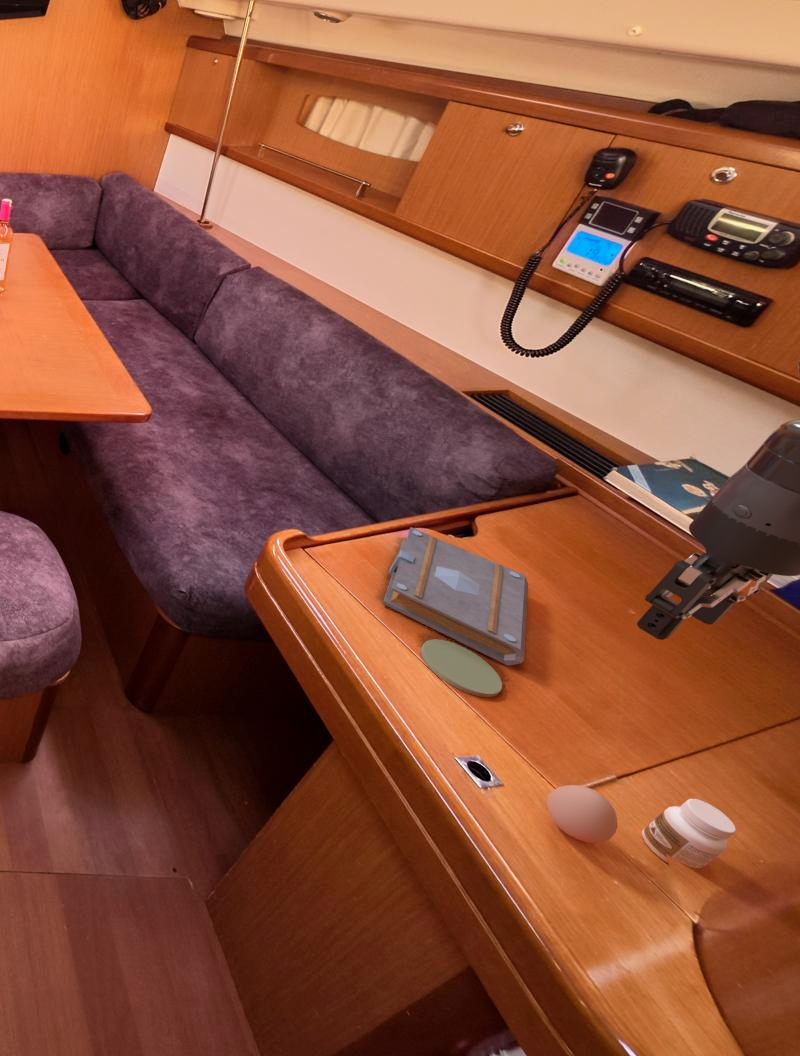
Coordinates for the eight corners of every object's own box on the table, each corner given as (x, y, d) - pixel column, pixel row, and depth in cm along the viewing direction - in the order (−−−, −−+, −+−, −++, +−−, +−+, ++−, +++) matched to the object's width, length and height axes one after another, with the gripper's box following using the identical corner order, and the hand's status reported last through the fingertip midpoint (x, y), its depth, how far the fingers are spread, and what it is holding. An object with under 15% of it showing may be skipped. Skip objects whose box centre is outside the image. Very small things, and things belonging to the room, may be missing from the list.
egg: (571, 808, 76) (603, 777, 73) (611, 858, 72) (646, 826, 69) (524, 800, 77) (554, 768, 74) (560, 848, 72) (593, 817, 69)
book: (514, 671, 93) (532, 649, 91) (378, 603, 104) (391, 582, 101) (519, 595, 106) (535, 574, 104) (398, 542, 117) (410, 522, 115)
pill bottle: (631, 822, 75) (671, 786, 72) (682, 841, 74) (725, 805, 70) (654, 861, 72) (697, 825, 68) (708, 882, 70) (755, 846, 67)
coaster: (497, 666, 94) (499, 663, 93) (502, 710, 88) (505, 706, 87) (420, 632, 99) (422, 628, 99) (420, 671, 93) (422, 667, 92)
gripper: (788, 556, 58) (681, 668, 66) (873, 531, 62) (763, 640, 69) (675, 503, 65) (589, 610, 72) (758, 483, 68) (668, 587, 75)
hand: (674, 625), depth 70 cm, fingers open, 8 cm apart
